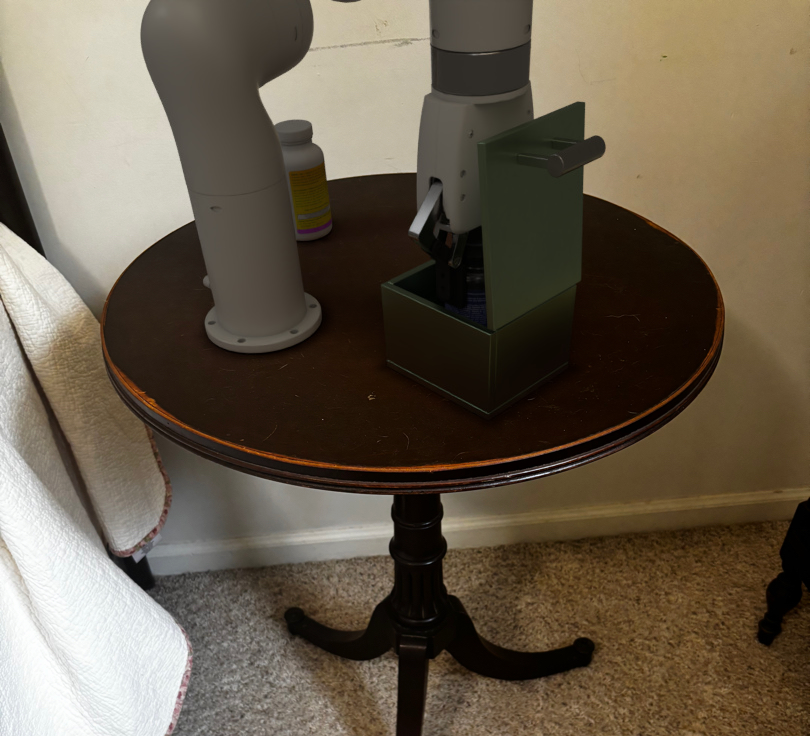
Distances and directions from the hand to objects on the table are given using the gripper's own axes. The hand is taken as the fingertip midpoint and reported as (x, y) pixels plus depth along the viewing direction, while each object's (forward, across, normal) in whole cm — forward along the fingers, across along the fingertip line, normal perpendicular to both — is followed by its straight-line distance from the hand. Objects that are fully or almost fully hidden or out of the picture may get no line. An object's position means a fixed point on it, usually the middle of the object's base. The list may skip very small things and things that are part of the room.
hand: (477, 287), depth 73 cm
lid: (-8, 0, +6) cm, 10 cm away
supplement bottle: (+9, -9, -38) cm, 40 cm away
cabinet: (+8, 0, 0) cm, 8 cm away
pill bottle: (+6, 0, 0) cm, 6 cm away
